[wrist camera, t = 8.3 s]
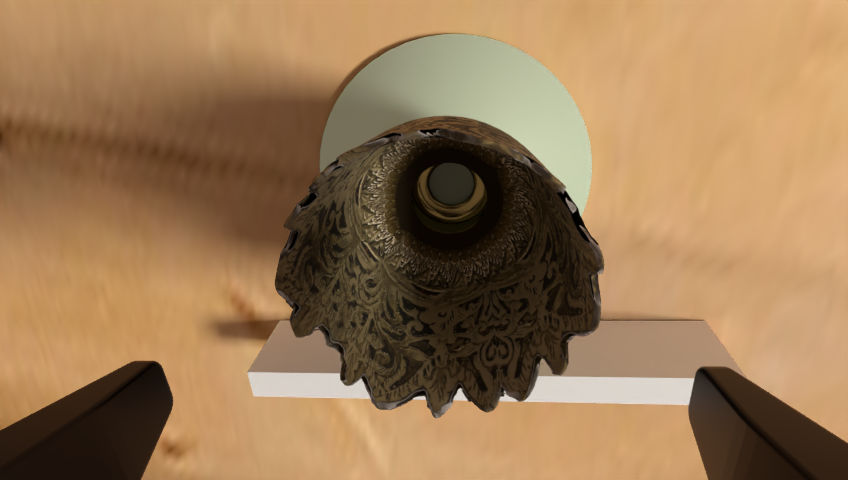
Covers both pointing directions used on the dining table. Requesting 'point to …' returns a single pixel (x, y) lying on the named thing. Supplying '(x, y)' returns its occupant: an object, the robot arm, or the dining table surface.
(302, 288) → the cup
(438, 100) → the pad
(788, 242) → the dining table surface
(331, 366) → the acrylic wall
